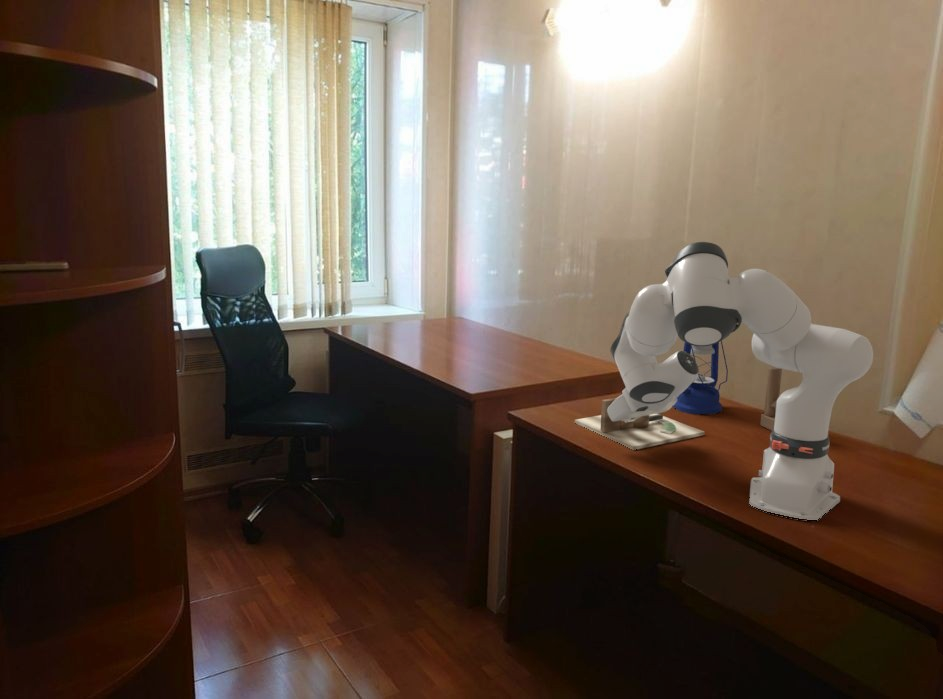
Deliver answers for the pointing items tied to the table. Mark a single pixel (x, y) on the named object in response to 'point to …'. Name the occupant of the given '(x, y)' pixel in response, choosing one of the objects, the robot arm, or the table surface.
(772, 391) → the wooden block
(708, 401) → the lantern
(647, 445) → the tuner board
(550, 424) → the table surface
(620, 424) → the brown wooden long piece
